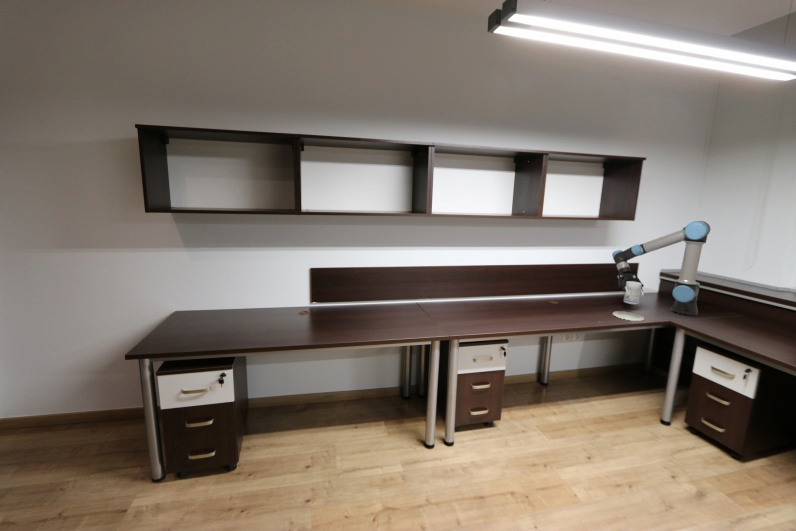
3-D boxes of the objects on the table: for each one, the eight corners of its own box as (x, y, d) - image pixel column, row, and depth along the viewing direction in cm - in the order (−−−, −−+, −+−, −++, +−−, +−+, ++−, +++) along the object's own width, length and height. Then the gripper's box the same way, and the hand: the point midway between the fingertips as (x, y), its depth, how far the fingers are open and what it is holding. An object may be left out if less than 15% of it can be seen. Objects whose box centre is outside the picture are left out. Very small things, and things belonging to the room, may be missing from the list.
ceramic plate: (625, 312, 259) (625, 310, 258) (650, 320, 242) (650, 318, 242) (606, 314, 252) (606, 312, 252) (631, 322, 236) (631, 320, 235)
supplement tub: (626, 300, 269) (629, 280, 267) (641, 303, 262) (644, 283, 260) (621, 302, 263) (623, 282, 261) (636, 305, 256) (639, 284, 253)
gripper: (636, 272, 275) (647, 298, 262) (606, 271, 274) (616, 298, 261) (641, 266, 269) (653, 293, 256) (611, 266, 268) (622, 292, 255)
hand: (635, 295), depth 259 cm, fingers closed on supplement tub, 9 cm apart
